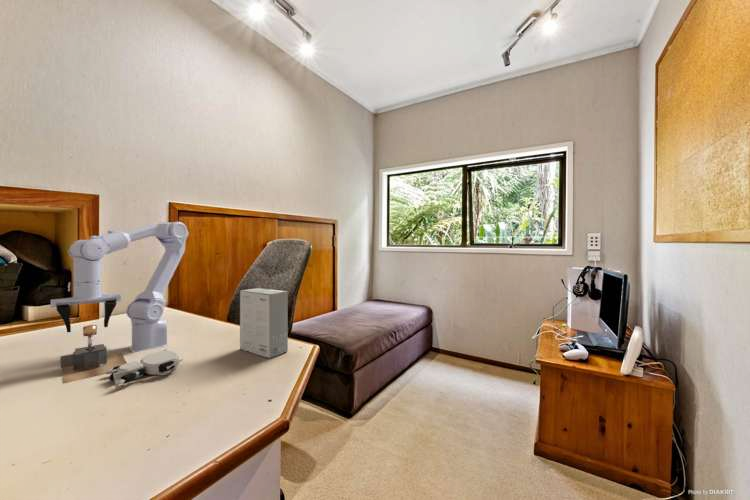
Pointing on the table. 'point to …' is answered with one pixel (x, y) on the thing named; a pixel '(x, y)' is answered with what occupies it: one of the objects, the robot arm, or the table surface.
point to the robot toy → (145, 367)
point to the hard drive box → (264, 321)
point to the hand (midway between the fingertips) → (87, 329)
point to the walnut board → (112, 362)
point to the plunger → (89, 333)
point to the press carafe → (86, 358)
